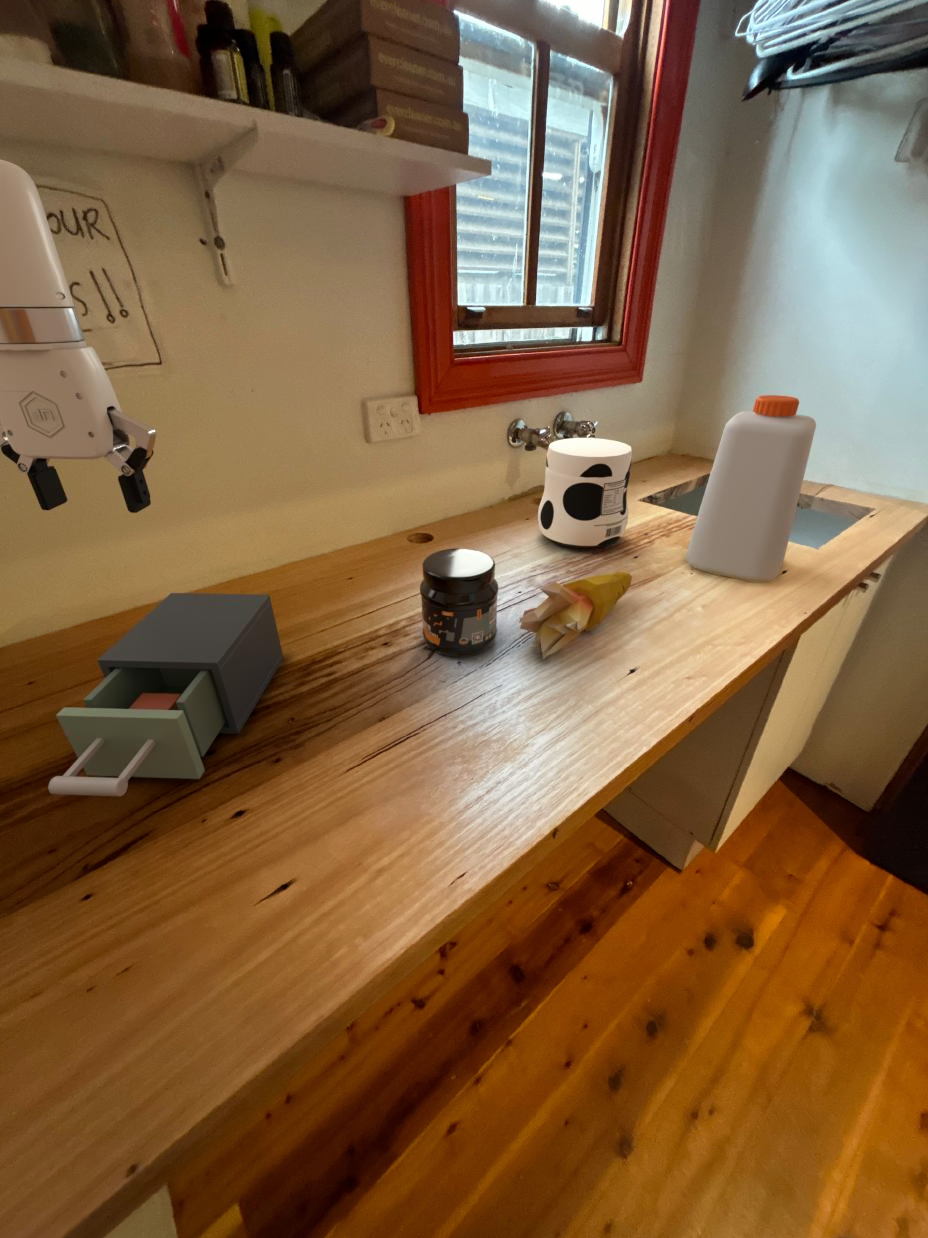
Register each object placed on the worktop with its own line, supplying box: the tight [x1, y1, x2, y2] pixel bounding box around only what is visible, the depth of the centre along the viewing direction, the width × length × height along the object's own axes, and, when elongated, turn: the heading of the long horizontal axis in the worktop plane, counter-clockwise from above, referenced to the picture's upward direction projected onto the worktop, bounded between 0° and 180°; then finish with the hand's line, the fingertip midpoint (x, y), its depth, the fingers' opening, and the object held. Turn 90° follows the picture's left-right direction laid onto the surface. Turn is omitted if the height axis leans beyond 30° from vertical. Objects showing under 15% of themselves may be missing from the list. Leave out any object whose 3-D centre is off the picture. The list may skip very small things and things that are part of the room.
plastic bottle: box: [685, 394, 817, 583], centre depth 90 cm, size 15×15×28 cm
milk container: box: [537, 437, 633, 549], centre depth 103 cm, size 17×17×18 cm
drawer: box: [48, 667, 227, 797], centre depth 54 cm, size 20×12×8 cm, turn 177°
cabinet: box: [96, 592, 284, 735], centre depth 64 cm, size 15×13×10 cm
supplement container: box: [419, 547, 499, 658], centre depth 73 cm, size 10×10×12 cm
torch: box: [518, 570, 633, 660], centre depth 77 cm, size 8×8×25 cm
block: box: [129, 693, 181, 710], centre depth 55 cm, size 4×4×4 cm
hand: (98, 507), depth 59 cm, fingers open, 9 cm apart
